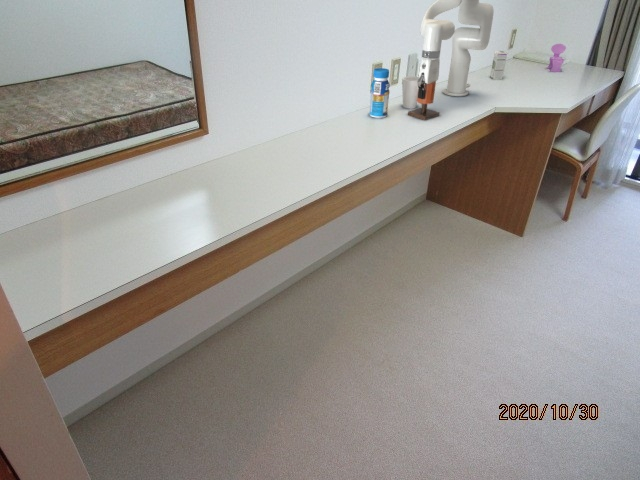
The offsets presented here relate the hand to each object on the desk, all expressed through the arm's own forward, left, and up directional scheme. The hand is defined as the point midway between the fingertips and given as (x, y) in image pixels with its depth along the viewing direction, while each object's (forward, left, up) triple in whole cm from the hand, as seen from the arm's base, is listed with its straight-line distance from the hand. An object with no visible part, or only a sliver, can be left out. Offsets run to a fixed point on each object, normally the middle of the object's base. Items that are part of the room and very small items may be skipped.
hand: (425, 96), depth 201 cm
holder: (0, 0, -9) cm, 9 cm away
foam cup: (-6, -13, -9) cm, 17 cm away
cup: (0, 0, -2) cm, 2 cm away
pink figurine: (-133, -6, -9) cm, 133 cm away
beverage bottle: (+16, -13, -9) cm, 22 cm away
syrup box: (-88, -18, -9) cm, 90 cm away
